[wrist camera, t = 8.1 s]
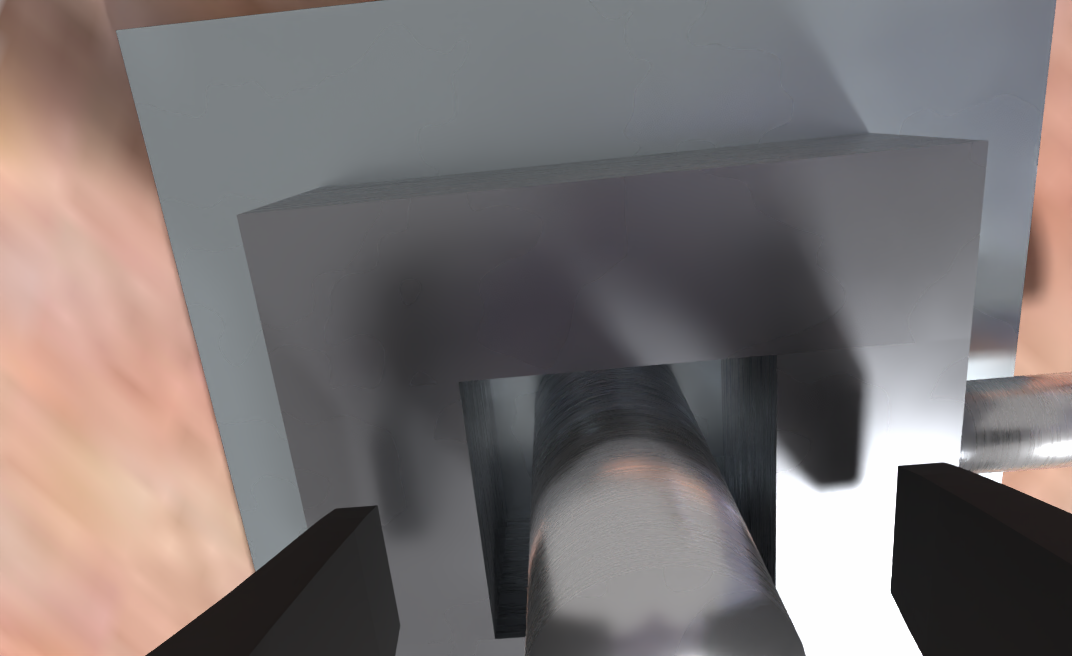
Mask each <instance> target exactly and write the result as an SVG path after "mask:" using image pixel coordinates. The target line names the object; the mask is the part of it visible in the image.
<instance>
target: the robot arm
mask: <svg viewBox="0 0 1072 656" xmlns="http://www.w3.org/2000/svg"><path fill="white" fill-rule="evenodd" d="M890 593H891V595H892V597H893V600H894V602H895V604H896V606H897V608H898V610H899V612H900V614H901V616H902V618H903V620H904V622H905V624H906V626H907V628H908V630H909V632H910V634H911V636H912V638H913V640H914V642H915V643H916V645H917V647H918V649H919V651H920V653H921V655H922V656H1072V514H1071V513H1068V512H1066V511H1064V510H1061V509H1059V508H1057V507H1055V506H1052V505H1050V504H1048V503H1045V502H1043V501H1041V500H1038V499H1036V498H1034V497H1031V496H1029V495H1027V494H1025V493H1022V492H1020V491H1018V490H1015V489H1013V488H1011V487H1008V486H1006V485H1004V484H1001V483H999V482H996V481H994V480H991V479H989V478H987V477H984V476H982V475H979V474H977V473H974V472H972V471H969V470H966V469H963V468H961V467H958V466H955V465H952V464H949V463H945V462H939V463H925V464H912V465H899V466H898V472H897V487H896V503H895V519H894V535H893V550H892V566H891V582H890ZM399 630H400V620H399V615H398V610H397V605H396V599H395V594H394V589H393V583H392V578H391V573H390V568H389V562H388V557H387V552H386V547H385V541H384V536H383V531H382V526H381V520H380V515H379V510H378V505H374V506H361V507H348V508H336V509H334V510H333V511H331V512H330V513H328V514H327V515H325V516H324V517H323V518H321V519H320V520H319V521H317V522H316V523H315V524H314V525H312V526H311V527H310V528H309V529H307V530H306V531H305V532H304V533H302V534H301V535H300V536H299V537H297V538H296V539H295V540H294V541H293V542H291V543H290V544H289V545H288V546H287V547H285V548H284V549H283V550H282V551H280V552H279V553H278V554H277V555H276V556H274V557H273V558H272V559H271V560H269V561H268V562H267V563H266V564H265V565H263V566H262V567H261V568H260V569H258V570H257V571H256V572H255V573H253V574H252V575H251V576H250V577H249V578H247V579H246V580H245V581H244V582H242V583H241V584H240V585H239V586H237V587H236V588H235V589H234V590H233V591H231V592H230V593H229V594H227V595H226V596H225V597H224V598H222V599H221V600H220V601H218V602H217V603H216V604H214V605H213V606H212V607H210V608H209V609H208V610H206V611H205V612H204V613H202V614H201V615H200V616H198V617H197V618H196V619H194V620H193V621H192V622H190V623H189V624H188V625H186V626H185V627H184V628H182V629H181V630H180V631H178V632H177V633H176V634H174V635H173V636H172V637H170V638H169V639H168V640H166V641H165V642H164V643H162V644H161V645H160V646H158V647H157V648H156V649H154V650H153V651H151V652H150V653H148V654H147V655H146V656H395V655H396V649H397V643H398V636H399Z"/></svg>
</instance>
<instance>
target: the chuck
mask: <svg viewBox="0 0 1072 656" xmlns="http://www.w3.org/2000/svg"><path fill="white" fill-rule="evenodd" d="M1055 7H1056V0H381V1H373V2H364V3H355V4H346V5H337V6H328V7H319V8H310V9H301V10H293V11H284V12H275V13H266V14H257V15H248V16H239V17H230V18H221V19H212V20H204V21H195V22H186V23H177V24H168V25H159V26H150V27H141V28H132V29H124V30H116V33H117V37H118V41H119V45H120V49H121V52H122V56H123V60H124V64H125V68H126V72H127V76H128V79H129V83H130V87H131V91H132V95H133V99H134V103H135V107H136V110H137V114H138V118H139V122H140V126H141V130H142V134H143V138H144V141H145V145H146V149H147V153H148V157H149V161H150V165H151V169H152V172H153V176H154V180H155V184H156V188H157V192H158V196H159V200H160V203H161V207H162V211H163V215H164V219H165V223H166V227H167V231H168V234H169V238H170V242H171V246H172V250H173V254H174V258H175V262H176V265H177V269H178V273H179V277H180V281H181V285H182V289H183V293H184V296H185V300H186V304H187V308H188V312H189V316H190V320H191V324H192V327H193V331H194V335H195V339H196V343H197V347H198V351H199V355H200V358H201V362H202V366H203V370H204V374H205V378H206V382H207V385H208V389H209V393H210V397H211V401H212V405H213V409H214V413H215V416H216V420H217V424H218V428H219V432H220V436H221V440H222V444H223V447H224V451H225V455H226V459H227V463H228V467H229V471H230V475H231V478H232V482H233V486H234V490H235V494H236V498H237V502H238V506H239V509H240V513H241V517H242V521H243V525H244V529H245V533H246V537H247V540H248V544H249V548H250V552H251V556H252V560H253V564H254V568H255V571H257V570H258V569H260V568H261V567H262V566H263V565H265V564H266V563H267V562H268V561H269V560H271V559H272V558H273V557H274V556H276V555H277V554H278V553H279V552H280V551H282V550H283V549H284V548H285V547H287V546H288V545H289V544H290V543H291V542H293V541H294V540H295V539H296V538H297V537H299V536H300V535H301V534H302V533H304V532H305V531H306V530H307V529H309V528H310V527H311V526H312V525H314V524H315V523H316V522H317V521H319V520H320V519H321V518H323V517H324V516H325V515H327V514H328V513H330V512H331V511H333V510H334V509H336V508H348V507H361V506H374V505H378V510H379V515H380V520H381V526H382V531H383V536H384V541H385V547H386V552H387V557H388V562H389V568H390V573H391V578H392V583H393V589H394V594H395V599H396V605H397V610H398V615H399V620H400V630H399V636H398V643H397V649H396V655H395V656H525V641H526V616H527V591H528V566H529V541H530V516H531V491H532V466H533V441H534V416H535V401H536V397H537V393H538V390H539V387H540V385H541V383H542V381H543V379H544V377H545V376H546V374H556V373H567V372H579V371H590V370H602V369H614V368H625V367H637V366H649V365H660V364H666V365H667V366H668V367H669V369H670V370H671V371H672V373H673V374H674V376H675V378H676V380H677V382H678V384H679V386H680V388H681V390H682V392H683V394H684V396H685V399H686V401H687V403H688V405H689V407H690V409H691V411H692V413H693V415H694V417H695V419H696V422H697V424H698V426H699V428H700V430H701V432H702V434H703V436H704V438H705V440H706V442H707V445H708V447H709V449H710V451H711V453H712V455H713V457H714V459H715V461H716V463H717V466H718V468H719V470H720V472H721V474H722V476H723V478H724V480H725V482H726V484H727V486H728V489H729V491H730V493H731V495H732V497H733V499H734V501H735V503H736V505H737V507H738V509H739V512H740V514H741V516H742V518H743V520H744V522H745V524H746V526H747V528H748V530H749V533H750V535H751V537H752V539H753V541H754V543H755V545H756V547H757V549H758V551H759V553H760V556H761V558H762V560H763V562H764V564H765V566H766V568H767V570H768V572H769V574H770V576H771V579H772V581H773V583H774V585H775V587H776V589H777V591H778V593H779V595H780V597H781V600H782V602H783V604H784V606H785V608H786V610H787V612H788V614H789V616H790V618H791V620H792V623H793V625H794V627H795V629H796V631H797V633H798V635H799V637H800V639H801V641H802V644H803V647H804V650H805V654H806V656H922V655H921V653H920V651H919V649H918V647H917V645H916V643H915V642H914V640H913V638H912V636H911V634H910V632H909V630H908V628H907V626H906V624H905V622H904V620H903V618H902V616H901V614H900V612H899V610H898V608H897V606H896V604H895V602H894V600H893V597H892V595H891V593H890V582H891V566H892V550H893V535H894V519H895V503H896V487H897V472H898V466H899V465H912V464H925V463H939V462H945V463H949V464H952V465H955V466H958V467H961V468H963V469H966V470H969V471H972V472H974V473H977V474H979V475H982V476H984V477H987V478H989V479H991V480H994V481H996V482H999V483H1001V482H1002V473H1003V472H1009V471H1022V470H1035V469H1048V468H1061V467H1072V372H1063V373H1051V374H1038V375H1026V376H1014V368H1015V359H1016V350H1017V341H1018V332H1019V324H1020V315H1021V306H1022V297H1023V288H1024V280H1025V271H1026V262H1027V253H1028V244H1029V236H1030V227H1031V218H1032V209H1033V201H1034V192H1035V183H1036V174H1037V165H1038V157H1039V148H1040V139H1041V130H1042V121H1043V113H1044V104H1045V95H1046V86H1047V77H1048V69H1049V60H1050V51H1051V42H1052V33H1053V25H1054V16H1055ZM1013 376H1014V377H1013Z"/></svg>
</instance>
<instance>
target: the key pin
mask: <svg viewBox="0 0 1072 656" xmlns="http://www.w3.org/2000/svg"><path fill="white" fill-rule="evenodd" d="M525 656H806V654H805V650H804V647H803V644H802V641H801V639H800V637H799V635H798V633H797V631H796V629H795V627H794V625H793V623H792V620H791V618H790V616H789V614H788V612H787V610H786V608H785V606H784V604H783V602H782V600H781V597H780V595H779V593H778V591H777V589H776V587H775V585H774V583H773V581H772V579H771V576H770V574H769V572H768V570H767V568H766V566H765V564H764V562H763V560H762V558H761V556H760V553H759V551H758V549H757V547H756V545H755V543H754V541H753V539H752V537H751V535H750V533H749V530H748V528H747V526H746V524H745V522H744V520H743V518H742V516H741V514H740V512H739V509H738V507H737V505H736V503H735V501H734V499H733V497H732V495H731V493H730V491H729V489H728V486H727V484H726V482H725V480H724V478H723V476H722V474H721V472H720V470H719V468H718V466H717V463H716V461H715V459H714V457H713V455H712V453H711V451H710V449H709V447H708V445H707V442H706V440H705V438H704V436H703V434H702V432H701V430H700V428H699V426H698V424H697V422H696V419H695V417H694V415H693V413H692V411H691V409H690V407H689V405H688V403H687V401H686V399H685V396H684V394H683V392H682V390H681V388H680V386H679V384H678V382H677V380H676V378H675V376H674V374H673V373H672V371H671V370H670V369H669V367H668V366H667V365H666V364H660V365H649V366H637V367H625V368H614V369H602V370H590V371H579V372H567V373H556V374H546V376H545V377H544V379H543V381H542V383H541V385H540V387H539V390H538V393H537V397H536V401H535V416H534V441H533V466H532V491H531V516H530V541H529V566H528V591H527V616H526V641H525Z"/></svg>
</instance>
